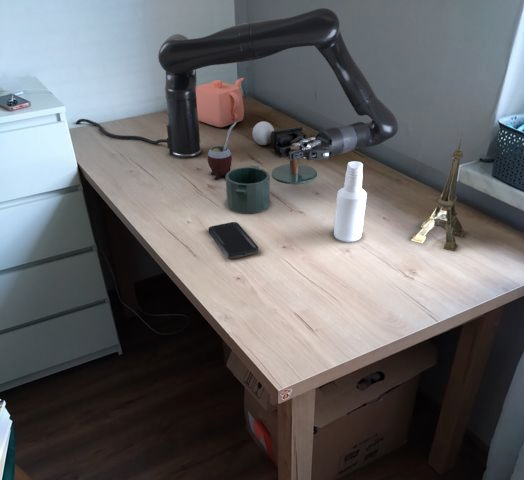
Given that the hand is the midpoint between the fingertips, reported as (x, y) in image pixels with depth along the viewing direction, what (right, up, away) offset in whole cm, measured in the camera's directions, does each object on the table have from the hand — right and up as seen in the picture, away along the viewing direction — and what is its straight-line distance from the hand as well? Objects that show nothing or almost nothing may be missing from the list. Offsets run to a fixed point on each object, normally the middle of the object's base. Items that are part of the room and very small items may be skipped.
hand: (286, 154), depth 146 cm
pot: (-10, -13, +2) cm, 17 cm away
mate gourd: (-18, 0, +17) cm, 25 cm away
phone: (-14, -26, -14) cm, 33 cm away
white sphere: (-7, +17, +37) cm, 41 cm away
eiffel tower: (+37, -25, -12) cm, 46 cm away
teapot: (-20, +32, +55) cm, 67 cm away
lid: (+2, -4, +5) cm, 7 cm away
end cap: (+2, +12, +31) cm, 34 cm away
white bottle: (+15, -24, -11) cm, 30 cm away
